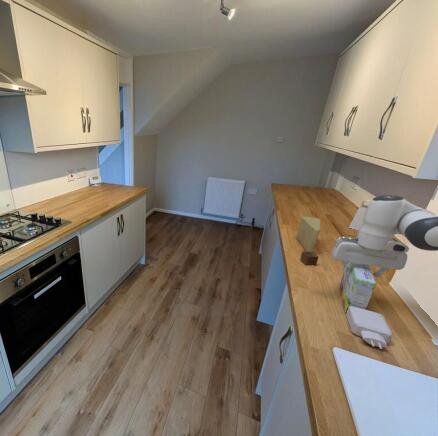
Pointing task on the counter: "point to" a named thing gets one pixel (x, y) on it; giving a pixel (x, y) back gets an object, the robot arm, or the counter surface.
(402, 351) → the counter surface
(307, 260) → the walnut block
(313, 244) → the cheese
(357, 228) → the grater
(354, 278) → the snack box
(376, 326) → the charger
